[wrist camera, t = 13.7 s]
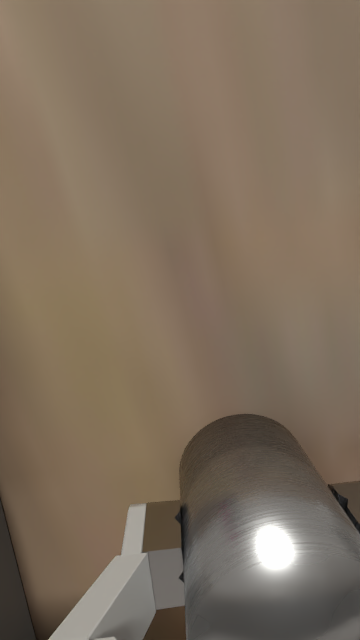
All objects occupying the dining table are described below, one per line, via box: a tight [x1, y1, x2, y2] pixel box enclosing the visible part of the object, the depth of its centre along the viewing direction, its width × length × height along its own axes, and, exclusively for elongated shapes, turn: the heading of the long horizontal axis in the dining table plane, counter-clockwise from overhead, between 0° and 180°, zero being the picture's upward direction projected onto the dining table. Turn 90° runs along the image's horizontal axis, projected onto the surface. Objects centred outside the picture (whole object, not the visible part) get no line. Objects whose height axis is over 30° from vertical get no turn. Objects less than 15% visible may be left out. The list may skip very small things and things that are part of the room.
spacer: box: [179, 414, 360, 640], centre depth 9 cm, size 4×4×5 cm
